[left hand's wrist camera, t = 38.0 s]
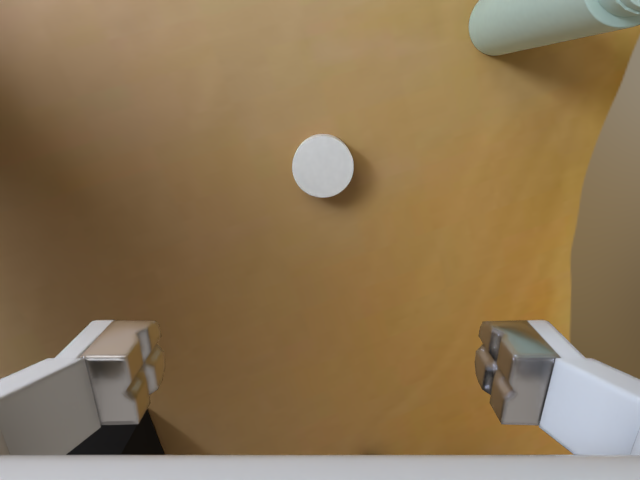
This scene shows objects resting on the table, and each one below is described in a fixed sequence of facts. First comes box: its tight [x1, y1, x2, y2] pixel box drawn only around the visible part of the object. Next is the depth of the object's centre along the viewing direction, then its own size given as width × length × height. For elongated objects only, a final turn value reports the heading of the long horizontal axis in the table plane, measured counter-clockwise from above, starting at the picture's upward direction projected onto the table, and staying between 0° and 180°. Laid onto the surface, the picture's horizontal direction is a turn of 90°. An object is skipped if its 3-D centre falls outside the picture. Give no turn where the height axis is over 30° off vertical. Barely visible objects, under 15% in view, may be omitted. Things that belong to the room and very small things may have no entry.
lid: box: [292, 134, 354, 198], centre depth 35 cm, size 5×5×2 cm
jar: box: [469, 0, 640, 56], centre depth 24 cm, size 5×5×17 cm
